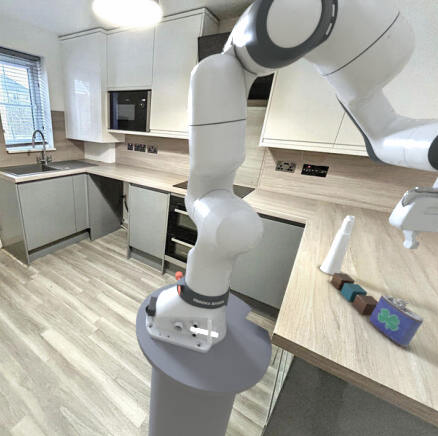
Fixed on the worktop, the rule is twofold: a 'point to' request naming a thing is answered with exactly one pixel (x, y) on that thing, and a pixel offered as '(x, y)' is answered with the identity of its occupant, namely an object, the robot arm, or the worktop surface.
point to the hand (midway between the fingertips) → (432, 249)
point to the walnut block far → (341, 280)
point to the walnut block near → (365, 304)
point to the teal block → (352, 291)
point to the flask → (395, 320)
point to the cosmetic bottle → (338, 248)
